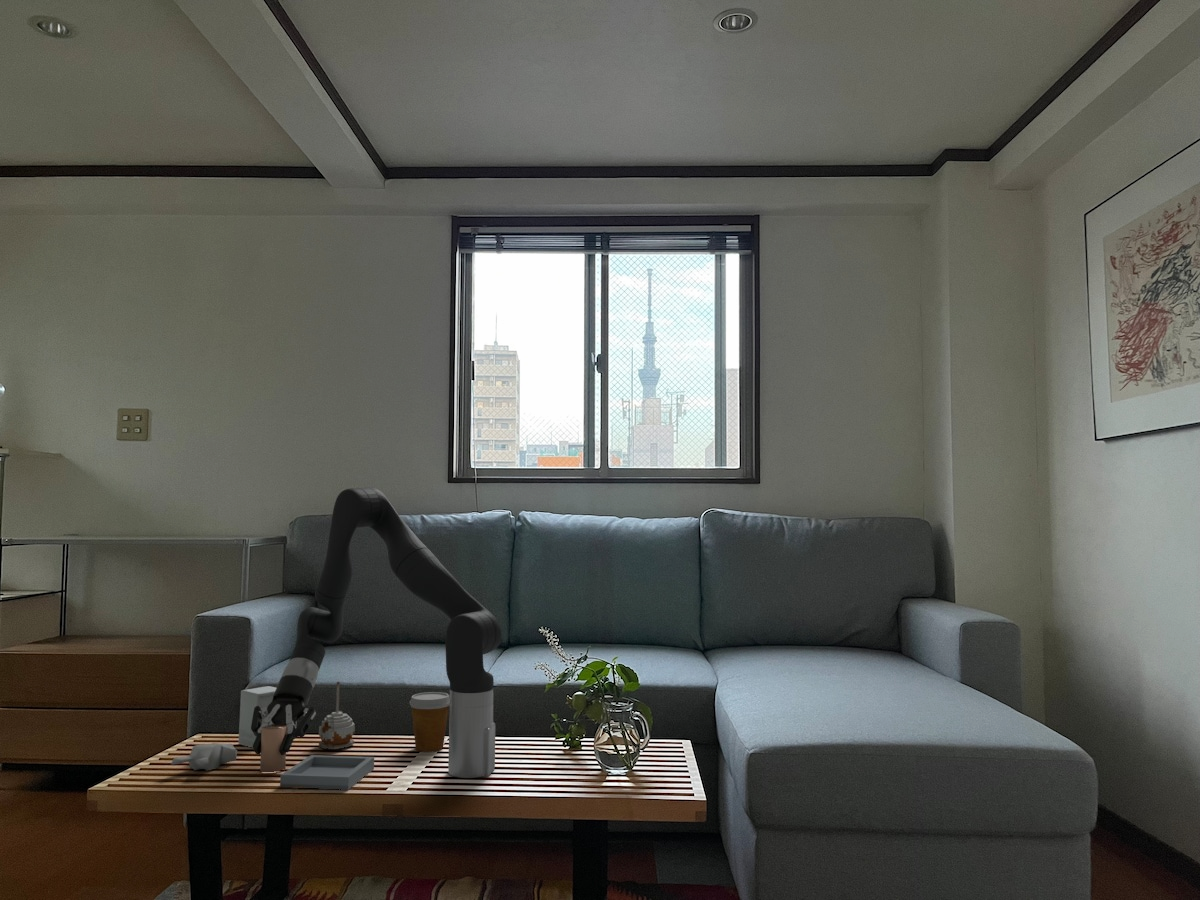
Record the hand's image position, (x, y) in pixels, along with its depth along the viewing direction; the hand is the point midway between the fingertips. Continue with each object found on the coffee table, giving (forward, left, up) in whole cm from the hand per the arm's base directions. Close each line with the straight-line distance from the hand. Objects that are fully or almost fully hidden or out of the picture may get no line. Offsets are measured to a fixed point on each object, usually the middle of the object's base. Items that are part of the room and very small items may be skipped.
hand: (269, 752), depth 176 cm
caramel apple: (-6, -21, -4) cm, 22 cm away
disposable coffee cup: (-28, -22, -4) cm, 36 cm away
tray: (-14, +2, -4) cm, 15 cm away
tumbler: (0, -2, -4) cm, 5 cm away
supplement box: (+13, -22, -4) cm, 26 cm away
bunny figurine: (+15, -2, -5) cm, 16 cm away
